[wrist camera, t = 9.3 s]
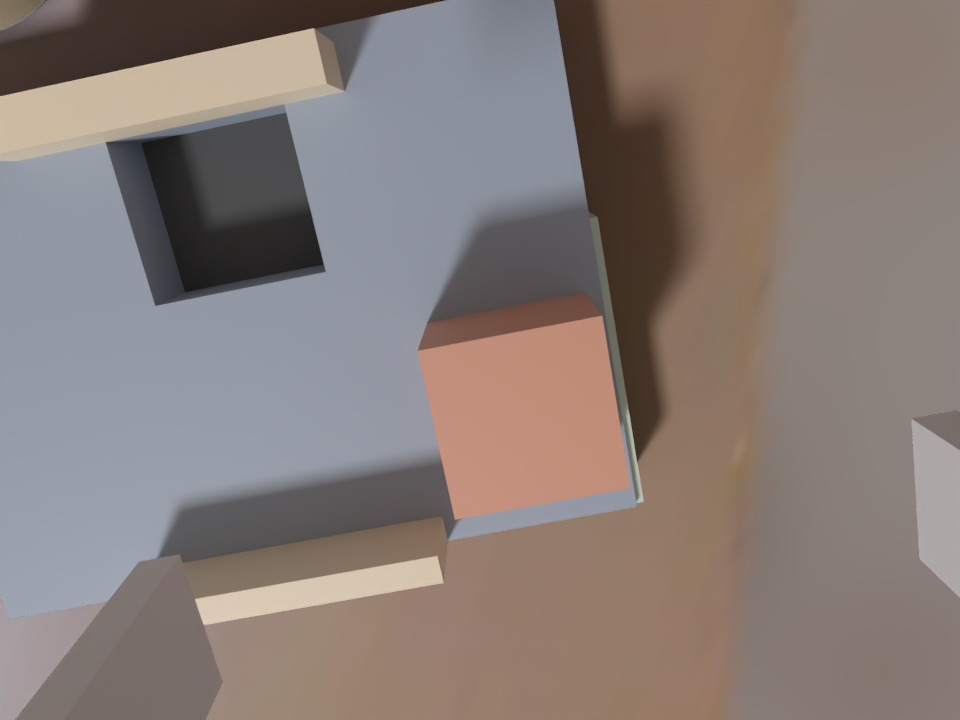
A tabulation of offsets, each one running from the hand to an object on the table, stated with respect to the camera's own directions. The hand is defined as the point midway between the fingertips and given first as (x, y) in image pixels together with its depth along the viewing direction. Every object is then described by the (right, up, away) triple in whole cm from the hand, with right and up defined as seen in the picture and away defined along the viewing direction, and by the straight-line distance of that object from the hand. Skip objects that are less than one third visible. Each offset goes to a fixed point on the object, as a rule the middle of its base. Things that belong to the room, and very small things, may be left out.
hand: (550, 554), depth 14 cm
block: (0, +3, +14) cm, 14 cm away
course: (-9, +5, +16) cm, 19 cm away
